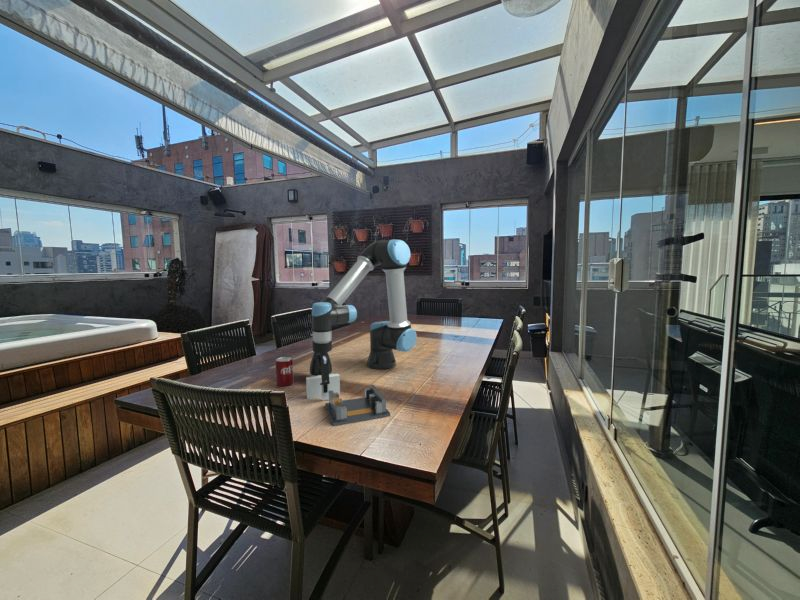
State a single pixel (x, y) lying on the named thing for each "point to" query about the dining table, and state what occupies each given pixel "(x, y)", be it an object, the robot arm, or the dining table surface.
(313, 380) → the panel
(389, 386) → the dining table surface
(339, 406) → the rack
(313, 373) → the dark grey egg shape
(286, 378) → the soda can
